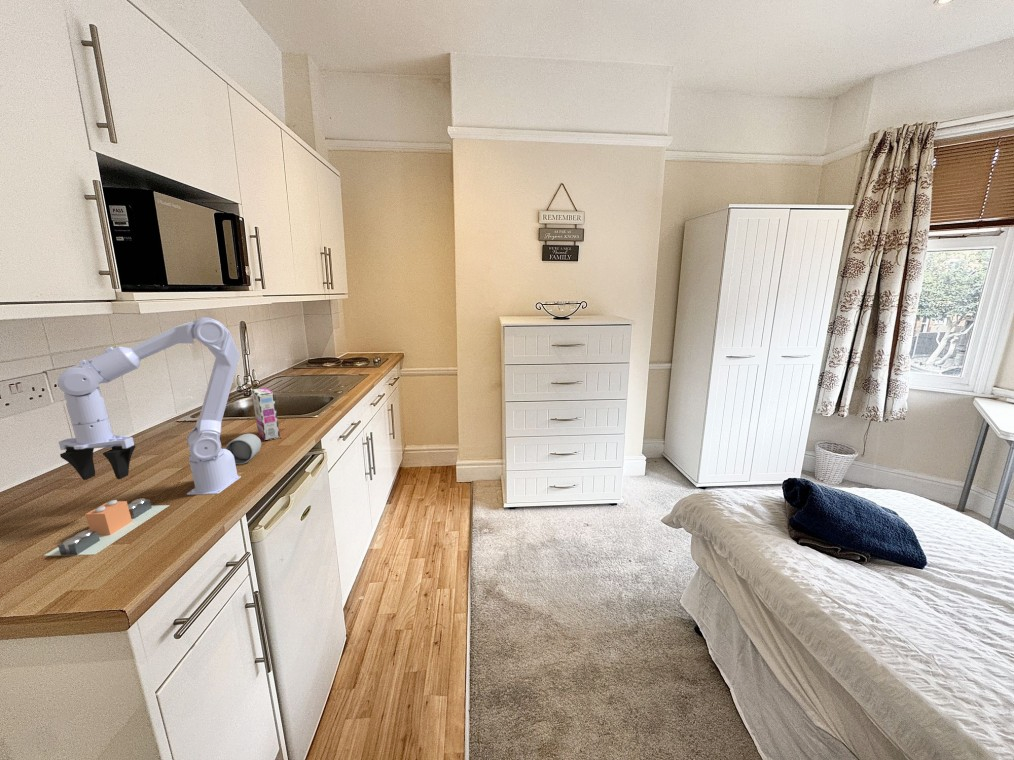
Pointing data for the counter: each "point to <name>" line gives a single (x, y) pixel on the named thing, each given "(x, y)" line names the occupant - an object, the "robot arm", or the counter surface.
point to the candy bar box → (265, 413)
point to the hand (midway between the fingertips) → (106, 477)
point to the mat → (116, 533)
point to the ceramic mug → (244, 447)
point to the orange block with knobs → (109, 517)
